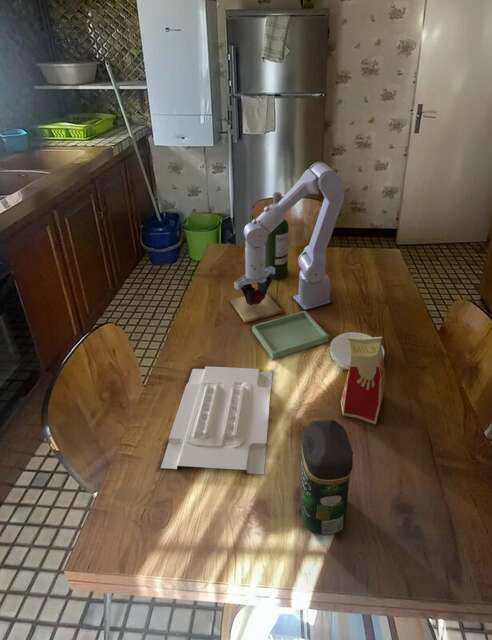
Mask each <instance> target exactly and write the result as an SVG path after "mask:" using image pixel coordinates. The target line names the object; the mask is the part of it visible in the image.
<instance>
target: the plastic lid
mask: <svg viewBox="0 0 492 640" xmlns="http://www.w3.org/2000/svg"><path fill="white" fill-rule="evenodd" d="M347 338H373V336H371V335H369V334H367V333H362V332H357V331H356V332H355V331H349V332H343V333H340V334H339V335H336V336H335V337H334V338H333V339H332V340H331V342H330V348H329V353H330V357H331V359H332V360H333V362H335V364H337V365H338V366H339V367H341V368H343V369H345V370H347V371H348V370H349V366H350V362H351V348H350V340H348V339H347ZM382 351H383V358H384V359H385V348H384V346H382Z"/></svg>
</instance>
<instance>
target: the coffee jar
mask: <svg viewBox="0 0 492 640" xmlns="http://www.w3.org/2000/svg"><path fill="white" fill-rule="evenodd" d="M353 455H354V452H353V449H352V445H351V442H350V439H349V435H348V434H347V430H346V429H345V428H344V427H343V425H342V424H340V423H339V422H338V421H336V420H335V419H319V420H313V421H311V422H309V424H307V425H306V426H305V427H304V430H303V432H302V438H301V457H300V458H301V461H300V478H299V479H300V482H299V507H300V513H301V516H302V521H303V523H304V526H305V528H306V529H307V531H309V532H310V533H312V534H314V535H319V536H328V535H333V534H336V533H339V532H341V531H342V530H343V529H344V527H345V525H346V521H347V510H348V499H349V488H350V478H351V474H352V472H353V467H354V456H353Z"/></svg>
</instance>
